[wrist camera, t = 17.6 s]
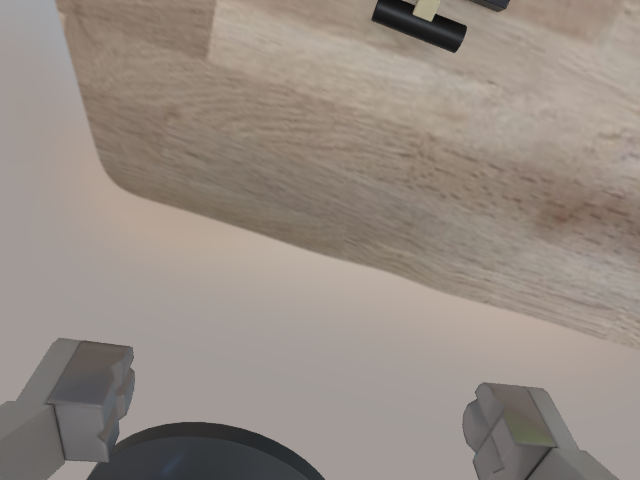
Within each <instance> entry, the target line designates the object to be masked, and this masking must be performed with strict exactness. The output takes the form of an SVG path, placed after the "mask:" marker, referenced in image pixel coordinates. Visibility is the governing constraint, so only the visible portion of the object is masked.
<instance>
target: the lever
mask: <svg viewBox="0 0 640 480" xmlns="http://www.w3.org/2000/svg"><path fill="white" fill-rule="evenodd" d="M440 2H441V0H417V1H416V3H415V5H412V4H410V3H407V2H405V1H402V0H378V2H377V5H376V7H375V10H374V13H373V16H372V19H371V20H372V21H374V22H376V23H379V24H381V25H384V26H387V27H389V28H392V29H394V30H397V31H399V32H402V33H404V34H407V35H410V36H412V37H415V38H417V39H420V40H422V41H425V42H427V43H430V44H433V45H435V46H438V47H440V48H443V49H445V50H448V51H450V52H453V53H455V52H456V51H457V50H458V49H459V47H460V45H461V43H462V41H463V39H464V36H465V34H466V30H467V26H465V25H463V24H460V23H458V22H455V21H453V20H450V19H448V18H445V17H443V16H440V15H437V14H435V13H436V11H437V9H438V6H439V4H440Z"/></svg>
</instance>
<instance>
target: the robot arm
mask: <svg viewBox="0 0 640 480" xmlns="http://www.w3.org/2000/svg"><path fill="white" fill-rule="evenodd" d="M133 359H134V355H133V348H132V347H130V346H122V345H114V344H107V343H99V342H91V341H82V340H73V339H64V338H58V340H56V341H55V342H54V343H52V345H51V346H50V348H49V350H48V351H47V353H46V354H45V356H44V357H43V359H42V361H41V362H40V364H39V365H38V367H37V368H36V370H35V372H34V373H33V375H32V376H31V378H30V379H29V381H28V383H27V384H26V386H25V388H24V389H23V390H22V392H21V394H20V395H19V397H18V398H17V400H16V401H7V402H5V403H4V404H2V405H1V406H0V480H47V479H48V478H49V477H50V476H51V475H52V474H54V473H55V472H56V471H57V470H58V469H59V468H60V467H61V466H62V465H63V464H64V463H65V460H69V461H90V462H109V459H110V456H111V454H112V451H113V449H114V446H115V443H116V440H117V438H118V436H119V420H120V419H121V418H123V417H124V416H125V415H126V414H127V411H128V409H129V406H130V403H131V399H132V395H133V391H134V383H135V373H134V371H133V370H132V369H131V368H130V366H131V364H132V361H133ZM475 393H476V397H477V399H476V400H474V401H473V402H471V403H469V404H468V405H467V407H466V410H465V411H464V414H463V424H462V425H463V432H464V436H465V439H466V442H467V444H468V445H469V446H470V447H471V448H472V449H473V451H474V452H475V453H476V454H475V456H474V459H473V464H474V467H475V470H476V473H477V476H478V479H479V480H619V479H618V478H617V477H616V476H614V475H613V474H612V473H611V472H610V471H609V470H608V469H606V468H605V467H604V466H603V465H602V464H601V463H599V462H598V461H597V460H596V459H595V458H593V457H592V456H591V455H590V454H589V453H588V452H587V451H582V450H579V448H578V446H577V444H576V442H575V441H574V439H573V437H572V435H571V433H570V432H569V430H568V428H567V426H566V424H565V422H564V421H563V419H562V417H561V415H560V413H559V412H558V410H557V408H556V406H555V404H554V403H553V401H552V399H551V397H550V395H549V394H548V392H547V391H545V390H544V389H543V388H534V387H525V386H523V387H522V386H517V385H506V384H495V383H482V384H480V385H479V386H478V388H477V390H476V391H475Z"/></svg>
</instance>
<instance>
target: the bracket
mask: <svg viewBox="0 0 640 480" xmlns="http://www.w3.org/2000/svg"><path fill="white" fill-rule="evenodd" d="M470 1H472V2H475V3H477V4H480V5H482V6H485V7H487V8H490V9H492V10H495V11H497V12H499V11H502V10H504V9H506V8H507V5H508V3H509V1H510V0H470Z"/></svg>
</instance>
